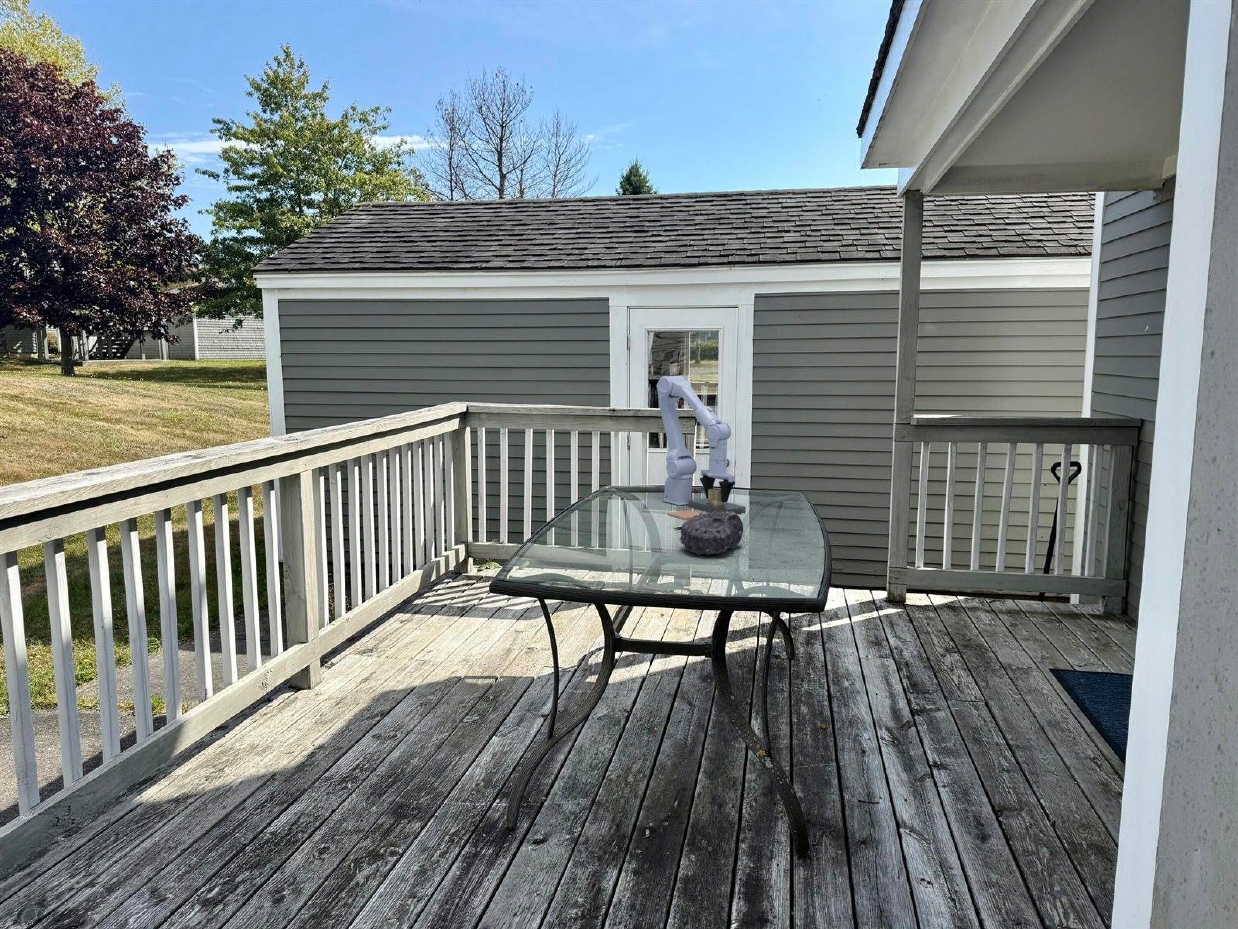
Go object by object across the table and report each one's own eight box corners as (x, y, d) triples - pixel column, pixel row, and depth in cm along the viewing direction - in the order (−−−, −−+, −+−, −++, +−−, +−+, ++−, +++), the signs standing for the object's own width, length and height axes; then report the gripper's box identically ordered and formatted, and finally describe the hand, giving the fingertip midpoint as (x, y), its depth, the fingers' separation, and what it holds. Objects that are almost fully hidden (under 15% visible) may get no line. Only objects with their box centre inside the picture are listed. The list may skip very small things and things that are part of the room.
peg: (708, 509, 284) (708, 489, 283) (716, 508, 287) (717, 488, 286) (716, 512, 281) (716, 491, 280) (725, 510, 284) (725, 489, 282)
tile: (667, 515, 276) (667, 513, 276) (688, 511, 281) (688, 509, 281) (685, 520, 269) (685, 518, 269) (706, 516, 274) (706, 514, 274)
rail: (688, 507, 288) (688, 500, 288) (708, 504, 294) (708, 497, 293) (725, 516, 274) (725, 510, 274) (745, 513, 279) (745, 506, 279)
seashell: (745, 550, 240) (707, 517, 246) (760, 519, 231) (720, 486, 237) (701, 581, 227) (662, 545, 234) (715, 550, 219) (674, 514, 225)
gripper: (694, 458, 285) (693, 497, 287) (724, 463, 273) (722, 505, 275) (709, 456, 289) (708, 495, 291) (739, 461, 277) (738, 502, 279)
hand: (716, 500), depth 283 cm, fingers open, 7 cm apart
